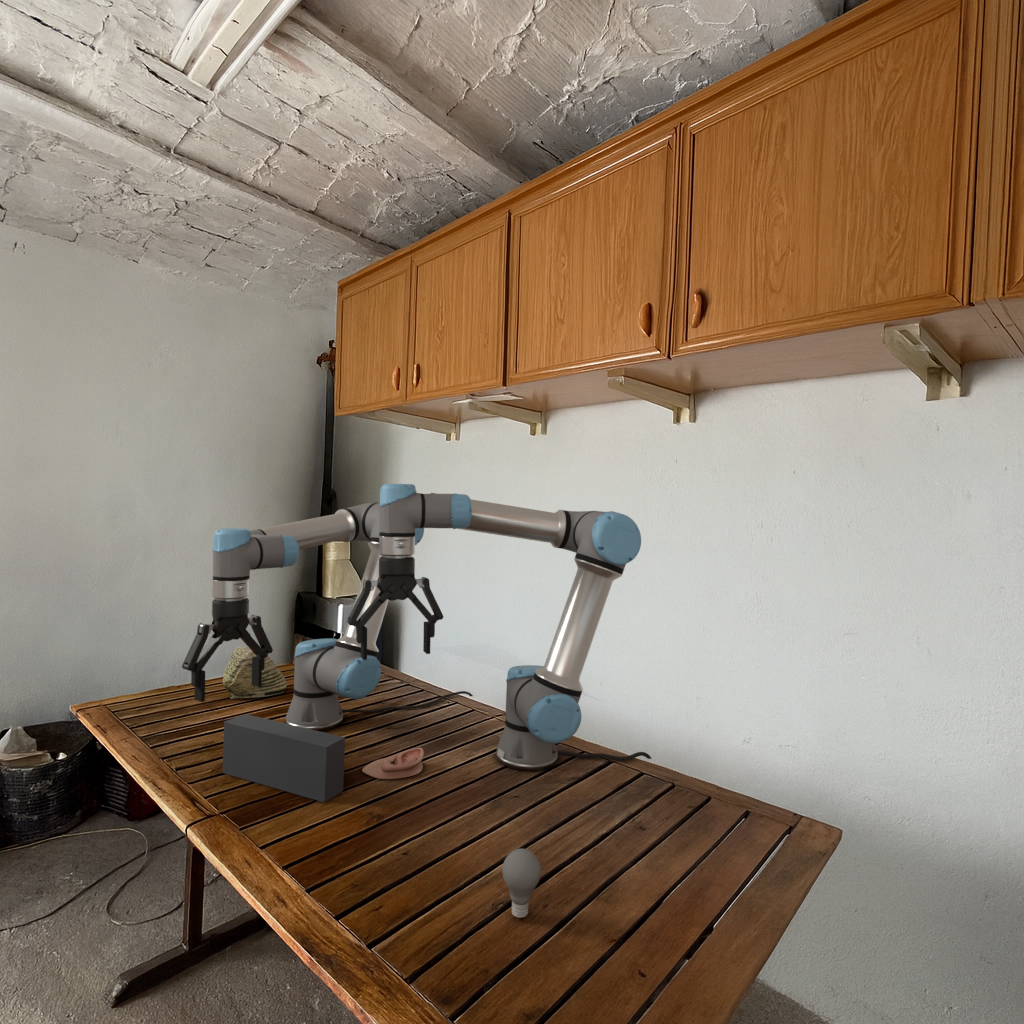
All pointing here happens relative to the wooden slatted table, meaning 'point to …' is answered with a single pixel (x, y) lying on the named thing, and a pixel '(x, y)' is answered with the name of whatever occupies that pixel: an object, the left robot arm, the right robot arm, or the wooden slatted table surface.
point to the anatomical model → (397, 765)
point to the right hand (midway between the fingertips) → (395, 655)
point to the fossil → (241, 676)
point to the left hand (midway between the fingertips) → (229, 692)
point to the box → (284, 756)
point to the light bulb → (521, 878)
